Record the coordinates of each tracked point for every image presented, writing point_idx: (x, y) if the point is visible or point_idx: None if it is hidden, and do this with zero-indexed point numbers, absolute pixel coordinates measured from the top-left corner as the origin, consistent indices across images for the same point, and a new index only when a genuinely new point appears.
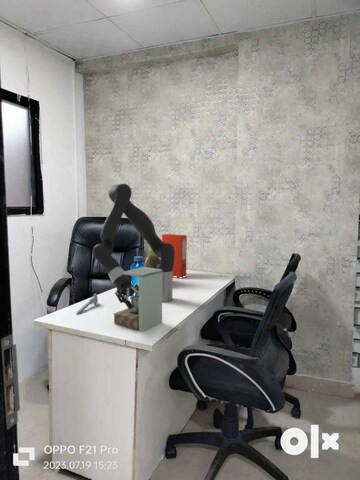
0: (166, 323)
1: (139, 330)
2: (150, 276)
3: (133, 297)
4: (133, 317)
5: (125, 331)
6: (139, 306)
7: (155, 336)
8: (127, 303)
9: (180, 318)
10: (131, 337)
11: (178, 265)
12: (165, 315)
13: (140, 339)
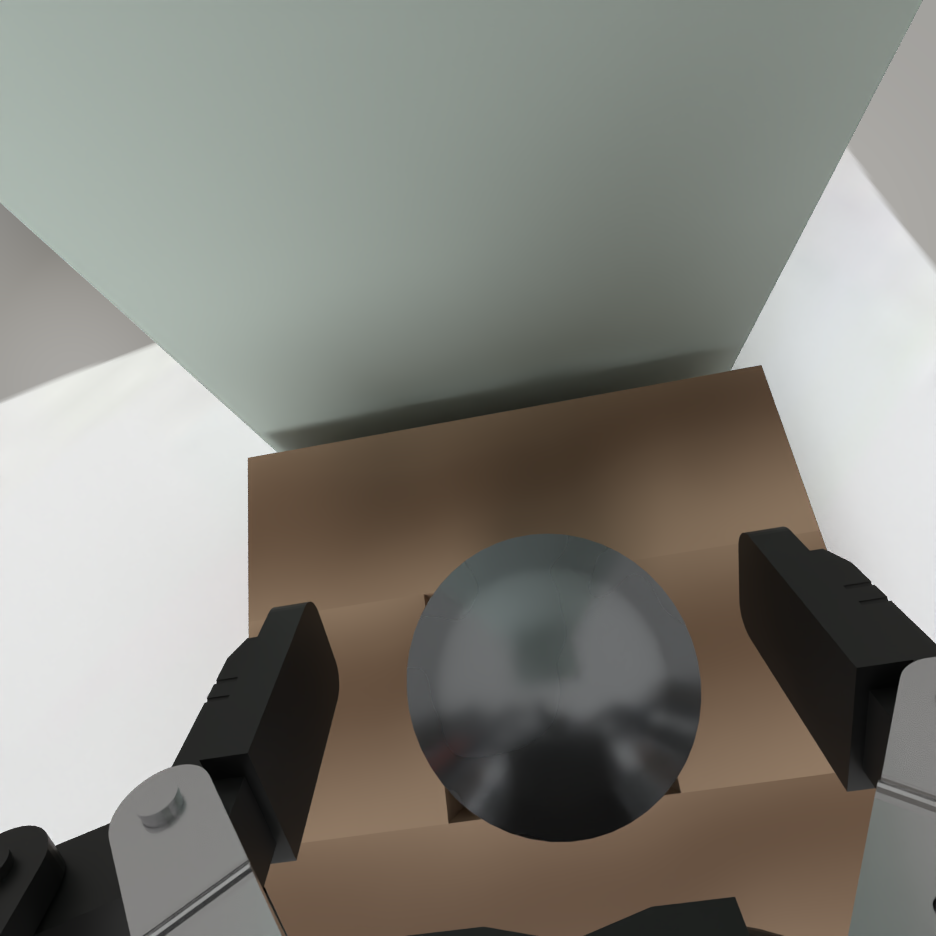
0: None
1: None
2: None
3: (594, 737)
4: (762, 472)
5: (871, 514)
6: (837, 131)
7: None
8: (911, 639)
9: (66, 397)
10: (901, 316)
11: None
12: (60, 607)
13: (839, 221)
